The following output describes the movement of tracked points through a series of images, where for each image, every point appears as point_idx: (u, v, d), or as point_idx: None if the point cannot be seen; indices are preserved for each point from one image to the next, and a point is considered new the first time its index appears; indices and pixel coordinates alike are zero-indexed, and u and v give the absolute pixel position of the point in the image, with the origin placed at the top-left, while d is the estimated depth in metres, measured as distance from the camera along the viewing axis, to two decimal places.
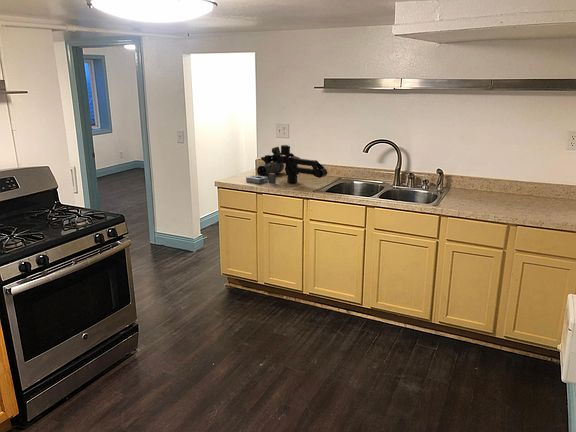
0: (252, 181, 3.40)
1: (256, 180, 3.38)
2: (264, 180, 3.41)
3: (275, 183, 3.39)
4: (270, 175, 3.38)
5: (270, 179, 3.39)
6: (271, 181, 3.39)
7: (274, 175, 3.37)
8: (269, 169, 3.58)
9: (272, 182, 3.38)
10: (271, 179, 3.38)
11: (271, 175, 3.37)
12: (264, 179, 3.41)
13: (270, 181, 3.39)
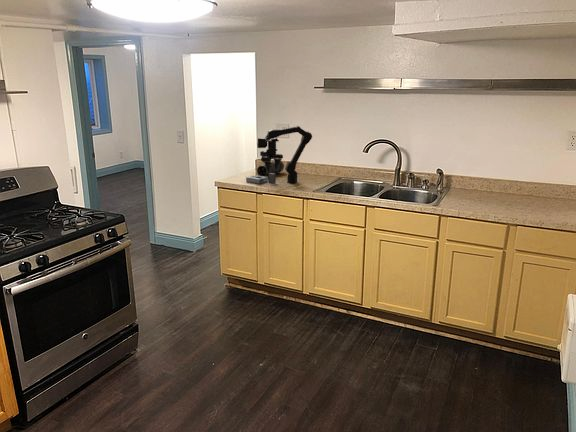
0: (252, 181, 3.40)
1: (256, 180, 3.38)
2: (264, 180, 3.41)
3: (275, 183, 3.39)
4: (270, 175, 3.38)
5: (270, 179, 3.39)
6: (271, 181, 3.39)
7: (274, 175, 3.37)
8: (269, 169, 3.58)
9: (272, 182, 3.38)
10: (271, 179, 3.38)
11: (271, 175, 3.37)
12: (264, 179, 3.41)
13: (270, 181, 3.39)
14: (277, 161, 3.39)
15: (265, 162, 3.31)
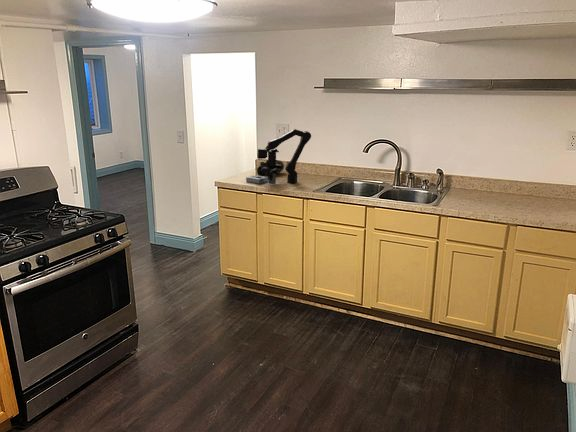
0: (252, 181, 3.40)
1: (256, 180, 3.38)
2: (264, 180, 3.41)
3: (275, 183, 3.39)
4: None
5: None
6: (271, 181, 3.39)
7: (274, 175, 3.37)
8: None
9: (272, 182, 3.38)
10: None
11: None
12: (264, 179, 3.41)
13: (270, 181, 3.39)
14: (274, 172, 3.39)
15: (268, 172, 3.36)
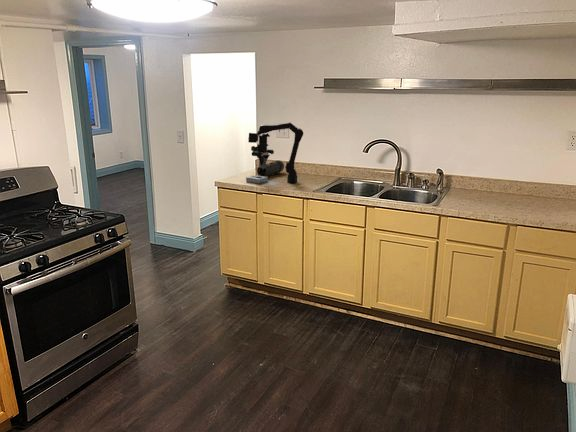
0: (252, 181, 3.40)
1: (256, 180, 3.38)
2: (264, 180, 3.41)
3: (275, 183, 3.39)
4: None
5: None
6: (262, 166, 3.38)
7: (265, 160, 3.36)
8: (269, 169, 3.58)
9: (263, 167, 3.37)
10: None
11: None
12: (264, 179, 3.41)
13: (261, 166, 3.38)
14: (265, 157, 3.38)
15: (258, 156, 3.35)
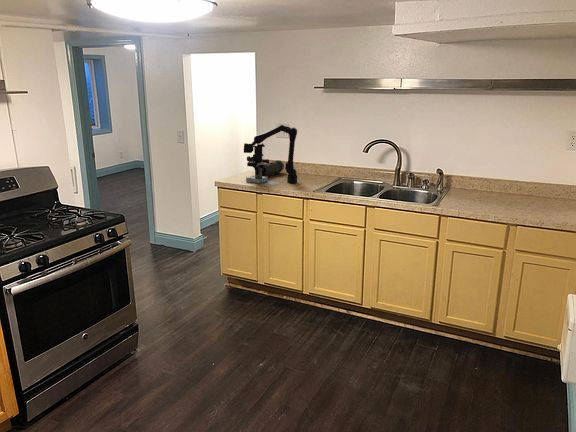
0: (252, 181, 3.40)
1: (256, 180, 3.38)
2: (264, 180, 3.41)
3: (275, 183, 3.39)
4: None
5: None
6: (257, 176, 3.41)
7: (260, 169, 3.40)
8: (269, 169, 3.58)
9: (258, 176, 3.40)
10: None
11: None
12: (264, 179, 3.41)
13: (256, 175, 3.41)
14: (261, 167, 3.41)
15: (254, 166, 3.38)
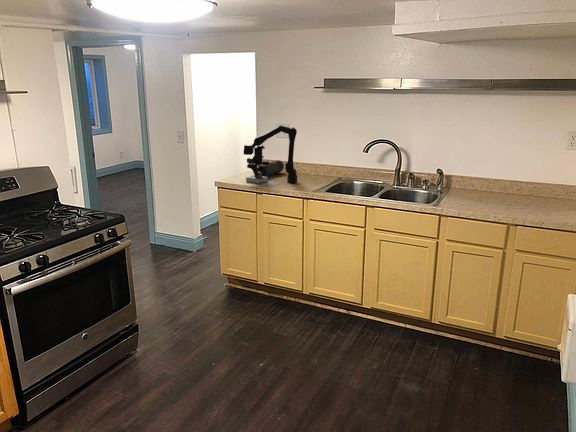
0: (252, 181, 3.40)
1: (256, 180, 3.38)
2: (264, 180, 3.41)
3: (275, 183, 3.39)
4: None
5: (256, 177, 3.42)
6: None
7: (260, 173, 3.40)
8: (269, 169, 3.58)
9: None
10: None
11: (257, 173, 3.40)
12: (264, 179, 3.41)
13: None
14: (262, 168, 3.43)
15: (253, 169, 3.37)
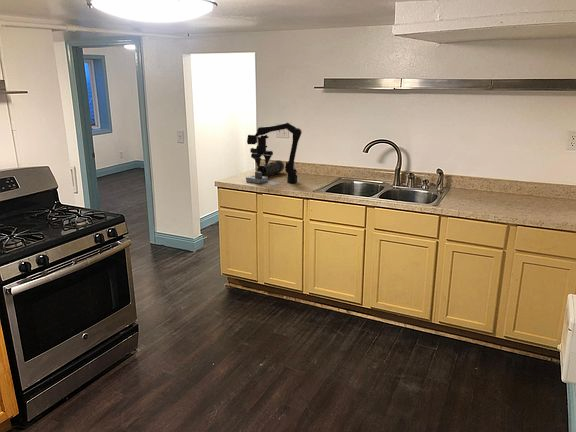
0: (252, 181, 3.40)
1: (256, 180, 3.38)
2: (264, 180, 3.41)
3: (275, 183, 3.39)
4: (256, 173, 3.41)
5: (256, 177, 3.42)
6: None
7: (260, 173, 3.40)
8: (269, 169, 3.58)
9: None
10: None
11: (257, 173, 3.40)
12: (264, 179, 3.41)
13: None
14: (267, 157, 3.44)
15: (255, 158, 3.36)
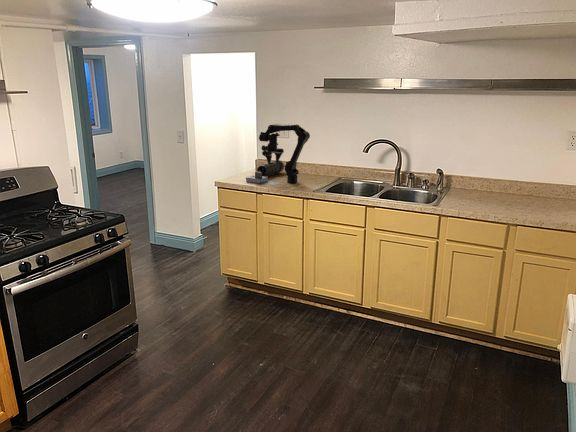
0: (252, 181, 3.40)
1: (256, 180, 3.38)
2: (264, 180, 3.41)
3: (275, 183, 3.39)
4: (256, 173, 3.41)
5: (256, 177, 3.42)
6: None
7: (260, 173, 3.40)
8: (269, 169, 3.58)
9: None
10: None
11: (257, 173, 3.40)
12: (264, 179, 3.41)
13: None
14: (278, 155, 3.48)
15: (266, 156, 3.40)
